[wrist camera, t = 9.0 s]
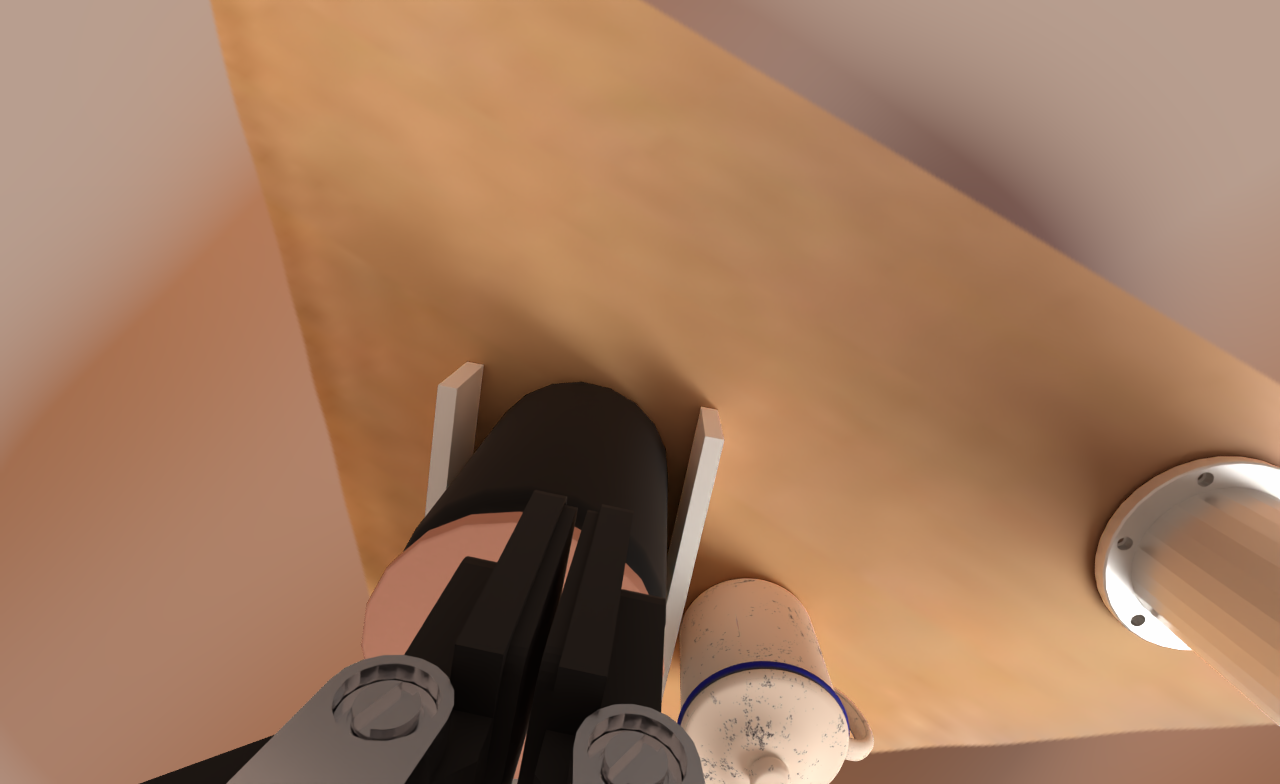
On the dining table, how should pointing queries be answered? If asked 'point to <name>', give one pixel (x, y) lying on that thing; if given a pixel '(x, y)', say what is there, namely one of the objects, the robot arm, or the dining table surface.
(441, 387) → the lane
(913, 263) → the dining table surface
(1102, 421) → the dining table surface
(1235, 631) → the robot arm
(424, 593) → the coffee jar
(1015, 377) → the dining table surface
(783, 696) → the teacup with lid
